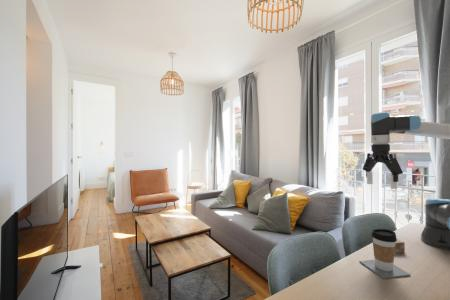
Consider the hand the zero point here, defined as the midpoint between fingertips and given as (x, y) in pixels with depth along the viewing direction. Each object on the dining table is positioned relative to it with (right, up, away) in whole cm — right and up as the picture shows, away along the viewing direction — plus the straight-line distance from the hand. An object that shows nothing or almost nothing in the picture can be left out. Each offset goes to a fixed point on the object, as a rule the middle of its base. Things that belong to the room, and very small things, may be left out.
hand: (381, 186), depth 109 cm
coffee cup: (-12, -31, -19) cm, 38 cm away
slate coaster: (-12, -31, -19) cm, 38 cm away
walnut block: (+4, -31, -3) cm, 31 cm away
